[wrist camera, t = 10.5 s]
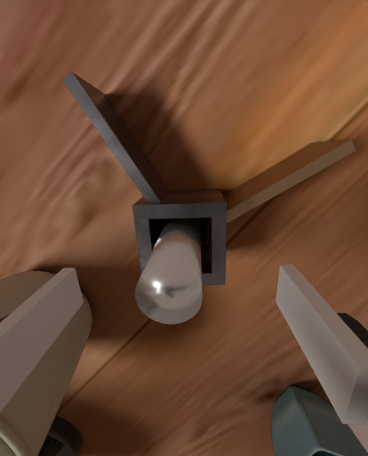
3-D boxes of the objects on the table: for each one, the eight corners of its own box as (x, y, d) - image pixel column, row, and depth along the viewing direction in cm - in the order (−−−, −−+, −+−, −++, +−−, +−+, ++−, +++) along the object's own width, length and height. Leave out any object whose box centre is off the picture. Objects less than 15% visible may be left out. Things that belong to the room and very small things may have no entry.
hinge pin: (168, 238, 26) (139, 323, 13) (166, 207, 25) (130, 267, 12) (200, 238, 26) (202, 324, 13) (199, 206, 25) (201, 267, 12)
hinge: (122, 254, 27) (98, 285, 21) (96, 94, 21) (52, 67, 15) (299, 250, 26) (335, 283, 19) (325, 78, 20) (390, 41, 13)
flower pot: (334, 390, 34) (381, 470, 25) (302, 421, 36) (334, 501, 28) (287, 372, 33) (319, 447, 24) (258, 404, 36) (277, 482, 27)
